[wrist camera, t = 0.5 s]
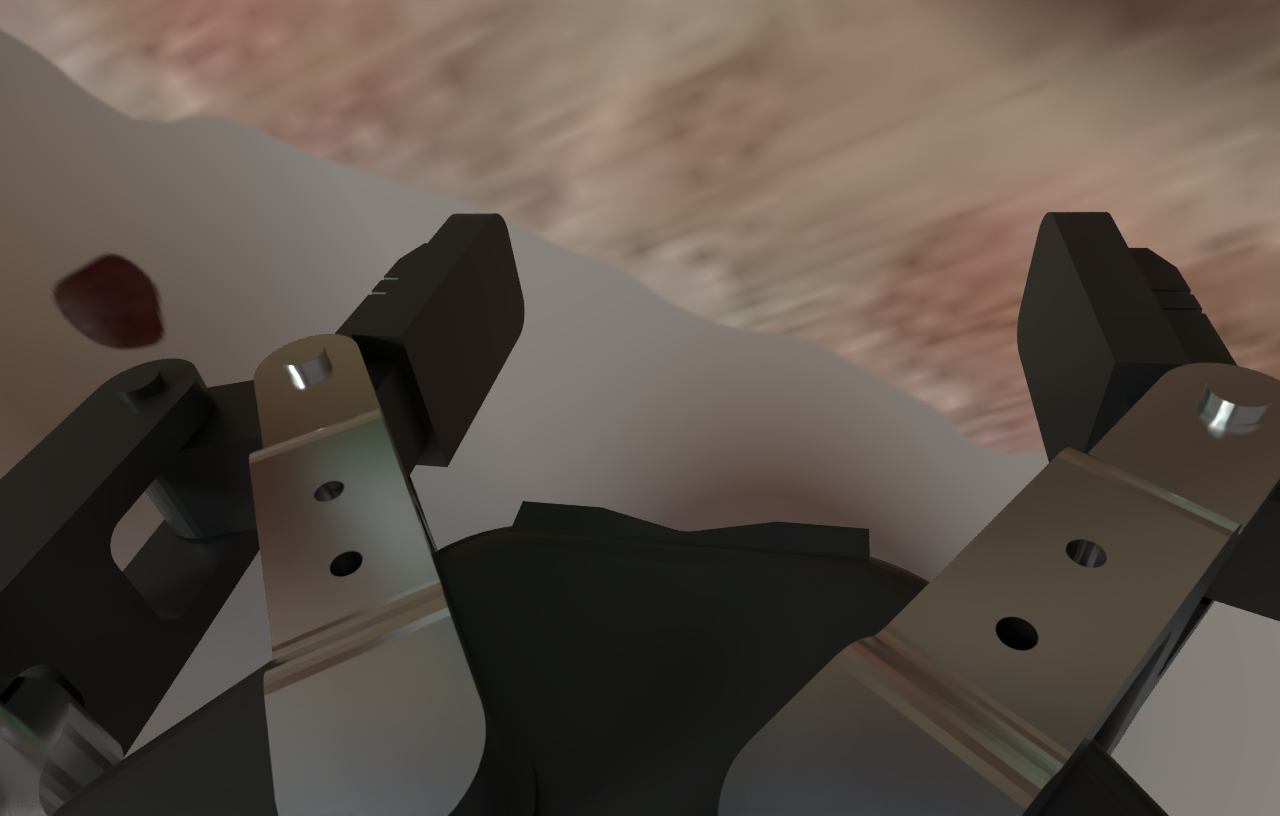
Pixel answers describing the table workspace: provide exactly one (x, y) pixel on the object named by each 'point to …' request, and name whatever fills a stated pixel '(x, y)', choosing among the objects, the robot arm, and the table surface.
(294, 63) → the table surface
